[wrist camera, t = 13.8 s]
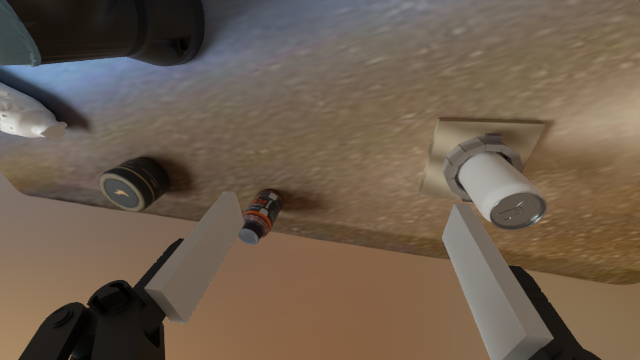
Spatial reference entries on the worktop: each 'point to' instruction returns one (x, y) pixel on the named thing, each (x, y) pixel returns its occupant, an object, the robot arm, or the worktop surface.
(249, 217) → the supplement bottle
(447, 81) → the worktop surface
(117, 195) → the jar
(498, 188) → the can
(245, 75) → the worktop surface
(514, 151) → the grey ring holder base
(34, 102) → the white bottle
